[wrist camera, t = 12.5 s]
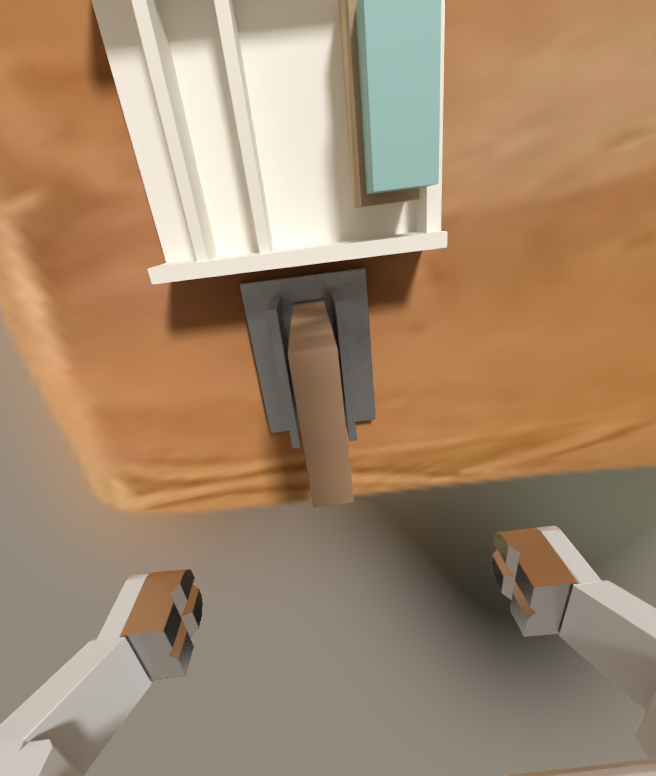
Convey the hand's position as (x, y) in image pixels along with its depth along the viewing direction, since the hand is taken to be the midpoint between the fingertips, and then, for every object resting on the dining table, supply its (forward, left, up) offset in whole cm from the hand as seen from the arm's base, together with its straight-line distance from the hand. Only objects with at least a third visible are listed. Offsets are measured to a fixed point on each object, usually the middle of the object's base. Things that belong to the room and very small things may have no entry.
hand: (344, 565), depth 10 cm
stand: (0, 0, -18) cm, 18 cm away
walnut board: (0, 0, -17) cm, 17 cm away
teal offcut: (-5, -13, -14) cm, 19 cm away
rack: (0, -13, -18) cm, 22 cm away
